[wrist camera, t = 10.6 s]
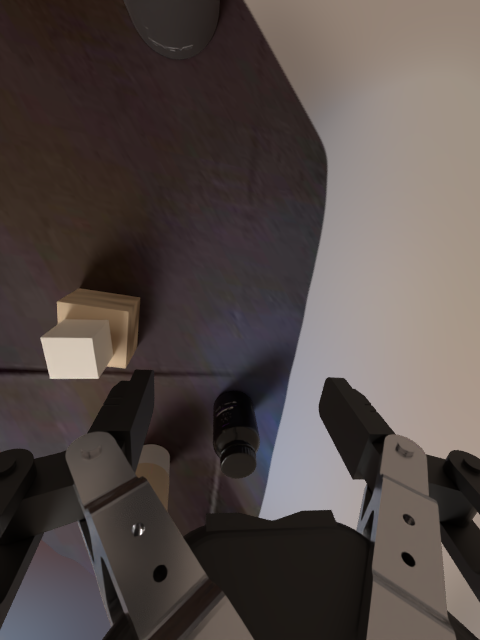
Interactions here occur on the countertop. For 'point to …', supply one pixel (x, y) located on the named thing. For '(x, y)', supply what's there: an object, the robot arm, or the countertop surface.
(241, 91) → the countertop surface
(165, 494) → the coffee cup
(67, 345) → the cream cube
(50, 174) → the countertop surface
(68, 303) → the oak block
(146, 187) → the countertop surface
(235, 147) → the countertop surface
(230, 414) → the supplement bottle
